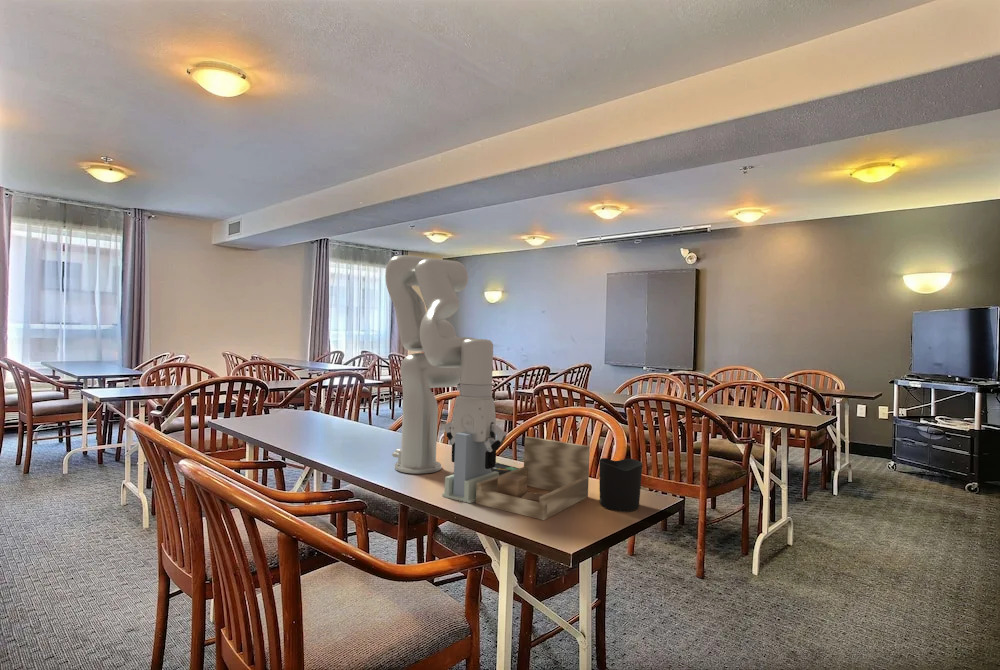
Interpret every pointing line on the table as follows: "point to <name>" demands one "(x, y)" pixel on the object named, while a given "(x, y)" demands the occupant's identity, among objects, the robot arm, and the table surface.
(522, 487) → the offcut
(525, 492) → the offcut
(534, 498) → the offcut
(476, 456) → the blue-grey flat block
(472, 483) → the stand
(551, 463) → the tray
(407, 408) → the robot arm
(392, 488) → the table surface
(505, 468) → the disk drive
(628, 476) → the pen holder
